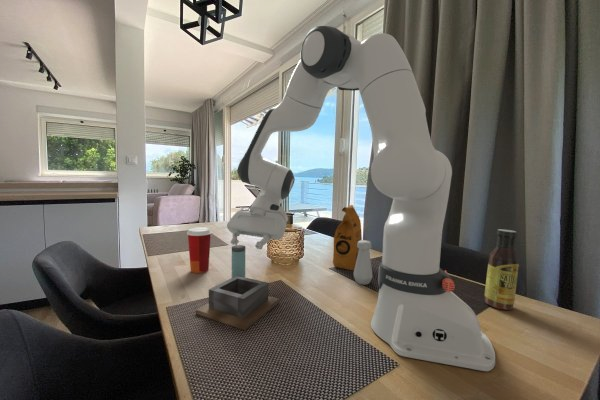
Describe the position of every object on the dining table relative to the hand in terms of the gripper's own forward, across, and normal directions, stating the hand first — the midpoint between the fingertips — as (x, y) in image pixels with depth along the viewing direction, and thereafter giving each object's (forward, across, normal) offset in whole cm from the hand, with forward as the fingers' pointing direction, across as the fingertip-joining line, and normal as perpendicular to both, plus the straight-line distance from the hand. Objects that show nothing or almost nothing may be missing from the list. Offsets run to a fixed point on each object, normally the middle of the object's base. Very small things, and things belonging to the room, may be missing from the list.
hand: (245, 246), depth 81 cm
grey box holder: (+18, +10, -3) cm, 21 cm away
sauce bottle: (-5, +68, +20) cm, 71 cm away
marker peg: (+10, 0, +5) cm, 11 cm away
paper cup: (+8, -18, +7) cm, 21 cm away
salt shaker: (-4, +33, +19) cm, 38 cm away
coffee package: (-14, +24, +29) cm, 40 cm away
